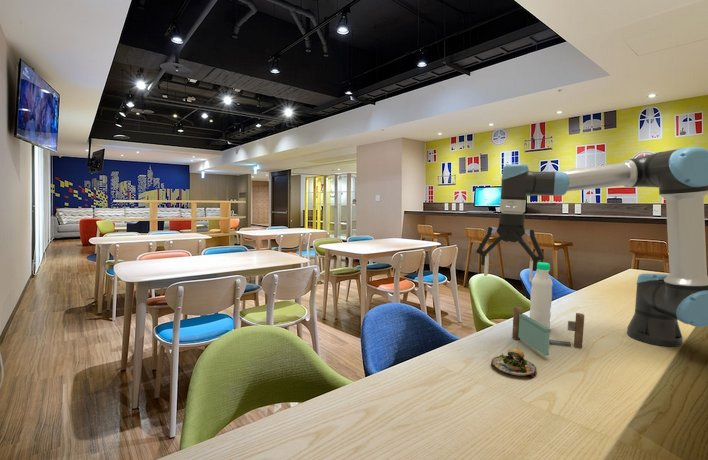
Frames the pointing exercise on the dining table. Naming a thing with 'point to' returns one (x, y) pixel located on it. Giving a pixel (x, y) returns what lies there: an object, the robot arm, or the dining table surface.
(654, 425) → the dining table surface
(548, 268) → the water bottle
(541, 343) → the gate
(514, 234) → the robot arm
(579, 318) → the gate frame
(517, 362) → the burger
